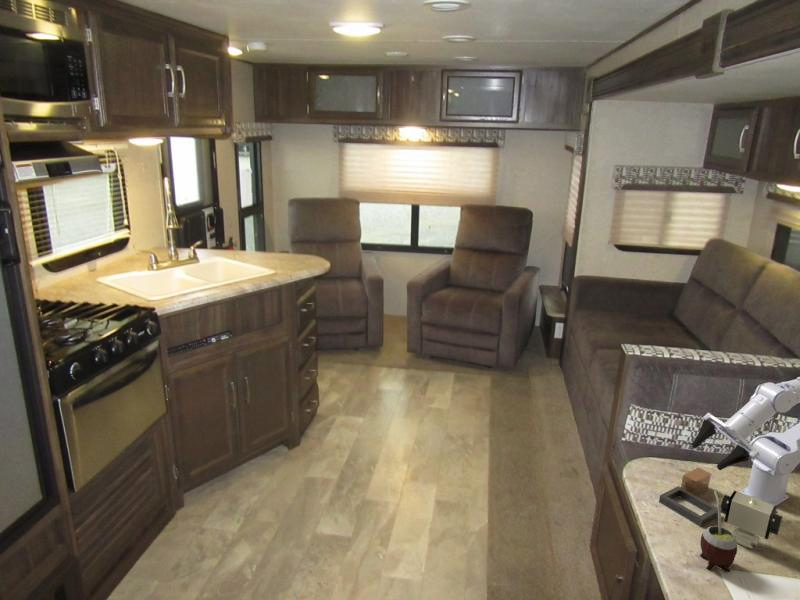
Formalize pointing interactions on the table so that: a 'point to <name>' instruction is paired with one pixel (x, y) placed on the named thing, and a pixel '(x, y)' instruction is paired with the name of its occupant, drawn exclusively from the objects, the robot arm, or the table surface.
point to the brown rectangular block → (696, 481)
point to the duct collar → (685, 512)
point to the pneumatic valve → (750, 518)
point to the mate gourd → (718, 544)
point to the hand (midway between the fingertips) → (705, 457)
